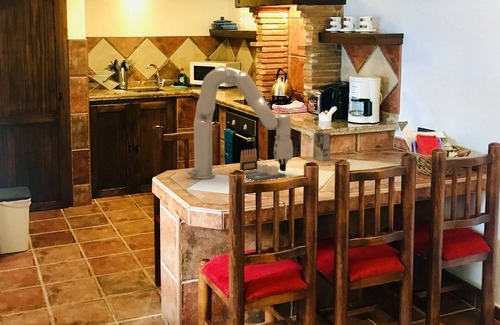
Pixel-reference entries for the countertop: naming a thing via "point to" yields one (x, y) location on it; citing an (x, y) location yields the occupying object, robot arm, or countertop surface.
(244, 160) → the ammunition clip
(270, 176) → the switch bank
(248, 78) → the robot arm
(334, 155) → the countertop surface
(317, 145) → the coffee box
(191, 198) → the countertop surface
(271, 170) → the tab
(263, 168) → the tab
